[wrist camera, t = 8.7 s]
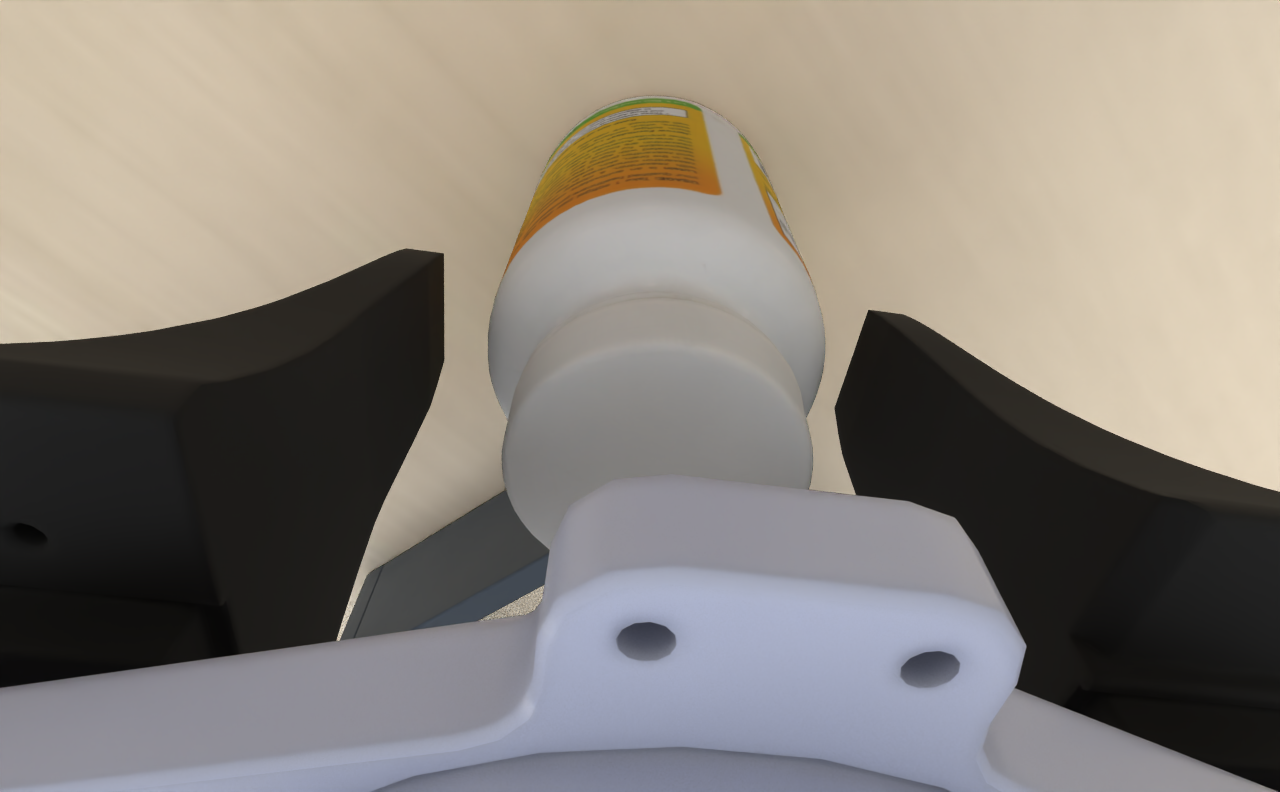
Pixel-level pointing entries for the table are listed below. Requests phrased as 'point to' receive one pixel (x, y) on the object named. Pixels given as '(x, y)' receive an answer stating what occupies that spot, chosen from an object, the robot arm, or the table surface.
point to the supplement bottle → (653, 316)
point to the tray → (453, 575)
